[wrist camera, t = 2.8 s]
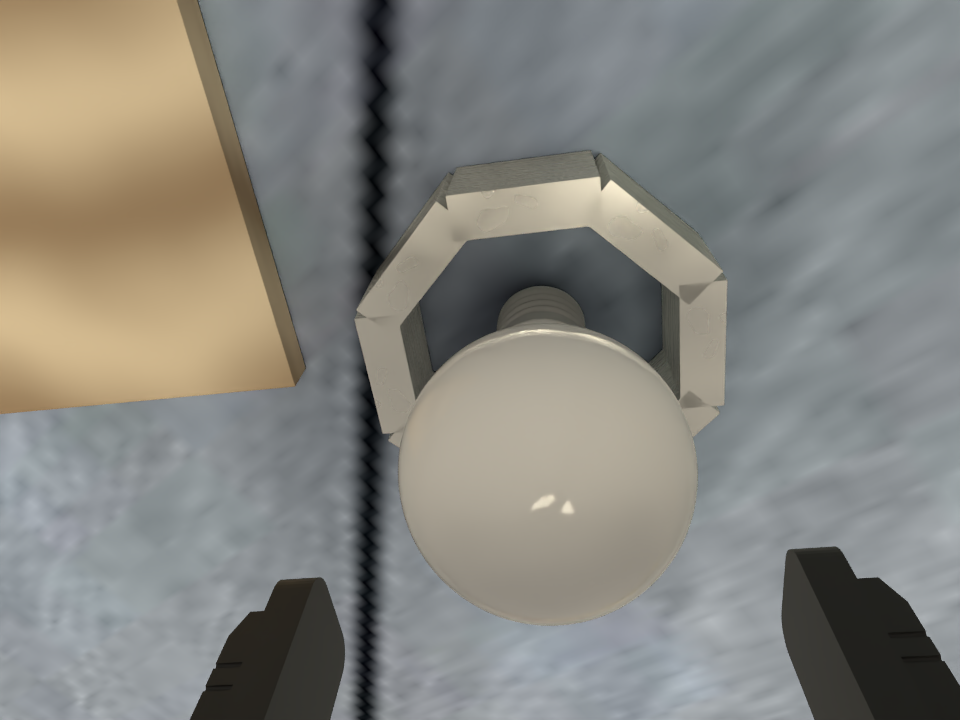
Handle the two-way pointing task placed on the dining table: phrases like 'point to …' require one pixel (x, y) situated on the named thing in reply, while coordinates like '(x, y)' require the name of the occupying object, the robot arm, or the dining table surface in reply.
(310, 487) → the dining table surface
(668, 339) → the collar
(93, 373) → the oak board
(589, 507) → the lightbulb
